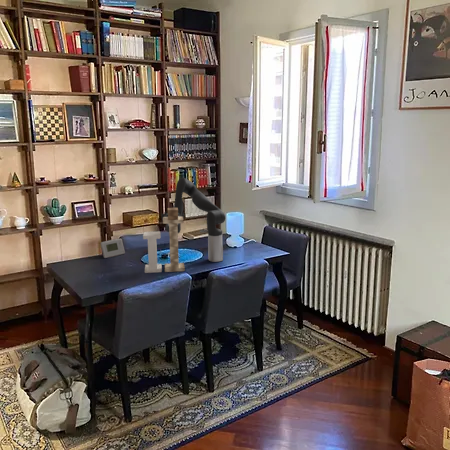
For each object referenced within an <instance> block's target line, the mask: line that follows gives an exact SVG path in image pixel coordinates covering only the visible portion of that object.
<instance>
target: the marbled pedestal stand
mask: <svg viewBox="0 0 450 450" xmlns="http://www.w3.org/2000/svg"><path fill="white" fill-rule="evenodd" d="M178 223H181V224H184V219H183V216H182V217H178V220H168V217H163V220H162V224H163V225H164V224H165V225H166V224H169V232H168V233H169V257H170V258H169V262H170V263H164V272H165V273H168V272H169V273H170V272H171V273H172V272H175V273H176V272H185V270H186V269H185V268H186V267H185V263H184V262H180V261H179V260H180V259H179V233H178Z"/></svg>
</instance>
